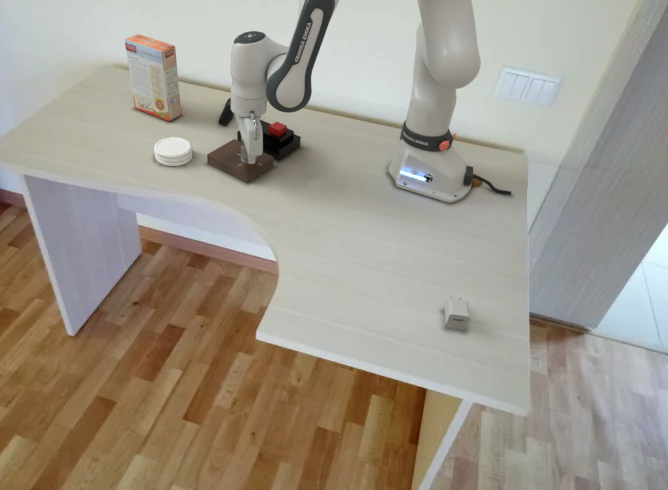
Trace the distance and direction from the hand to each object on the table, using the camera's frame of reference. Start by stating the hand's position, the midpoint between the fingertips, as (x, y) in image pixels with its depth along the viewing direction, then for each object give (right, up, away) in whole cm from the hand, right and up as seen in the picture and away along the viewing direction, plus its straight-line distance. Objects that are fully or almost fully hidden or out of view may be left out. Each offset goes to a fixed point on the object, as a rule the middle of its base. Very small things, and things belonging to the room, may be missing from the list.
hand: (248, 152), depth 140 cm
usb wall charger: (+45, -41, -31) cm, 68 cm away
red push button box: (+5, +5, +13) cm, 15 cm away
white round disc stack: (-21, 0, +6) cm, 21 cm away
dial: (0, -1, +1) cm, 2 cm away
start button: (+7, +8, +9) cm, 14 cm away
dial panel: (-2, -2, +5) cm, 6 cm away
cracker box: (-29, +18, +23) cm, 42 cm away
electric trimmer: (-8, +17, +25) cm, 31 cm away
